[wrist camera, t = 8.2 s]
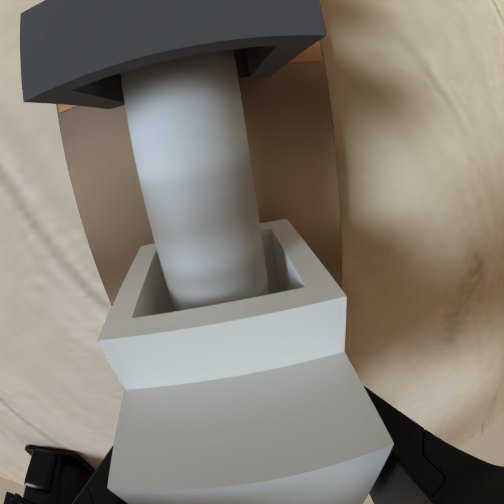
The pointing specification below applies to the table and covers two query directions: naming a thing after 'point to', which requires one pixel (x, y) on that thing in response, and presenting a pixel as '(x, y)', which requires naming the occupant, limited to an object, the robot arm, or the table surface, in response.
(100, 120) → the pipe rig
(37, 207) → the table surface
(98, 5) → the dark square collar
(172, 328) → the sleeve
